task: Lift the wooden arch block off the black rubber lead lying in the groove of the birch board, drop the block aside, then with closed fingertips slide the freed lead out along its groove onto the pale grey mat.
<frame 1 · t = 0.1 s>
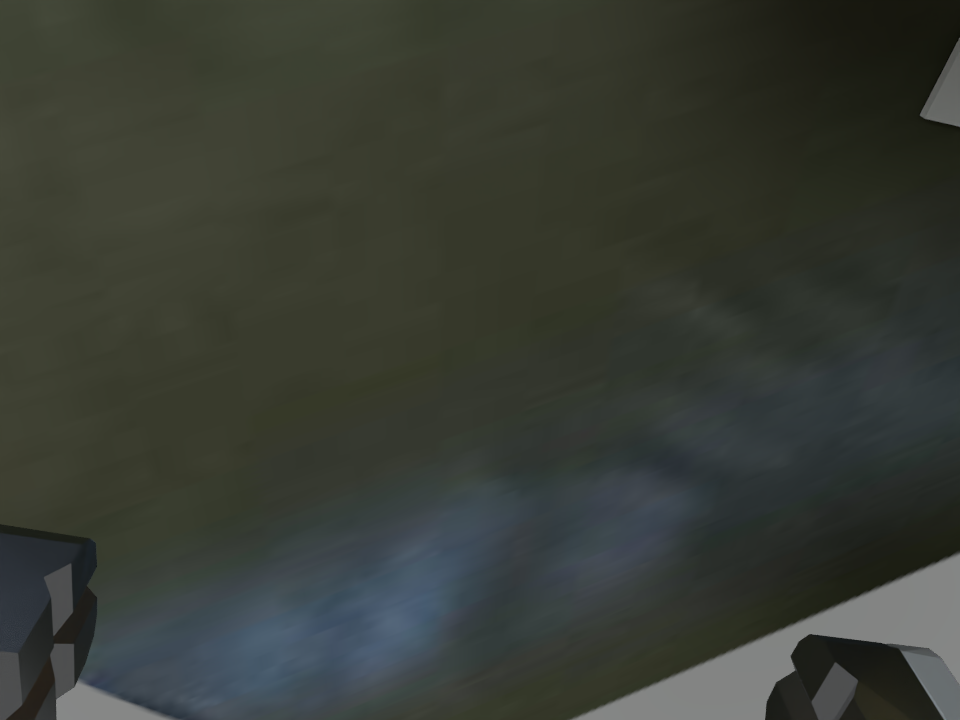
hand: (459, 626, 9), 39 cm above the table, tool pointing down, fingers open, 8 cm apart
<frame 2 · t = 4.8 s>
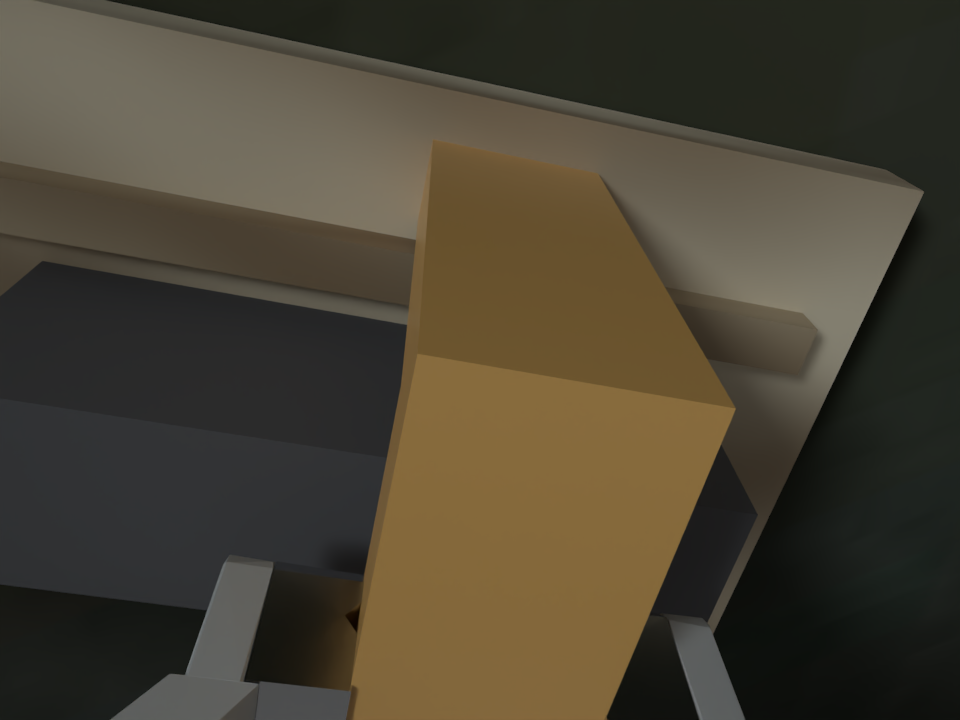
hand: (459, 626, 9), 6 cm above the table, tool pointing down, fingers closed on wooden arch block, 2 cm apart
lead: (366, 396, 13), point 1 cm above the table, touching board
board: (372, 361, 14), on the table
wooden arch block: (456, 410, 14), point 1 cm above the table, touching board, gripper
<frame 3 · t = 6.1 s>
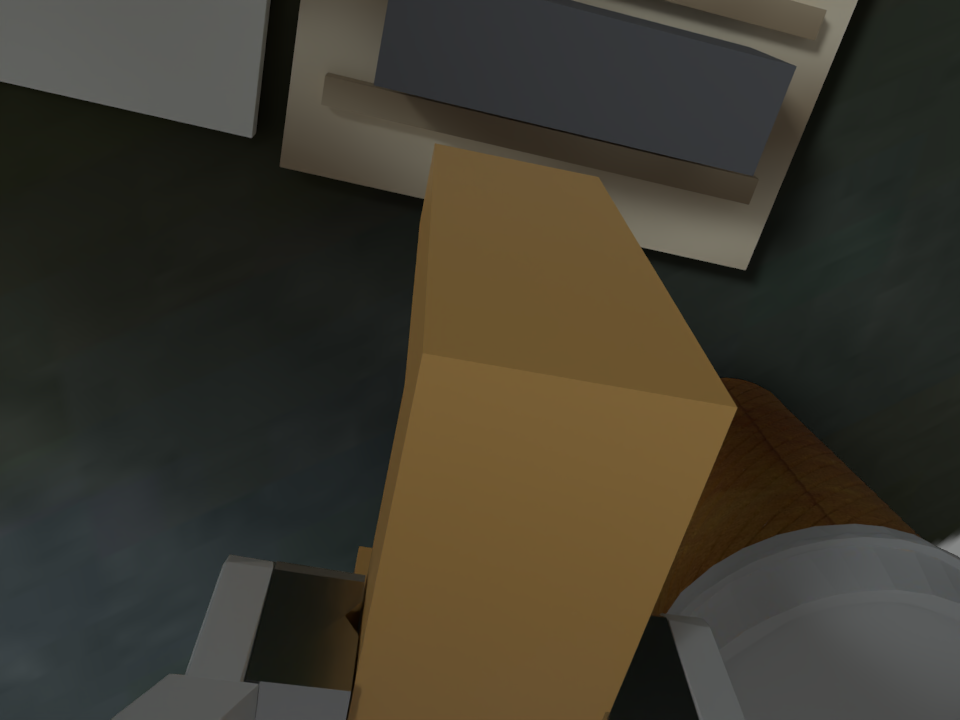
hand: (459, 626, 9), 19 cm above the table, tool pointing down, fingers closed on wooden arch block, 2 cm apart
disposable coffee cup: (708, 445, 31), on the table
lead: (567, 55, 23), point 1 cm above the table, touching board
board: (562, 49, 24), on the table
wooden arch block: (457, 413, 14), point 14 cm above the table, touching gripper
when the fingers open (6 cm above the table, at t = 7.9 s): wooden arch block drops 1 cm, on the table.
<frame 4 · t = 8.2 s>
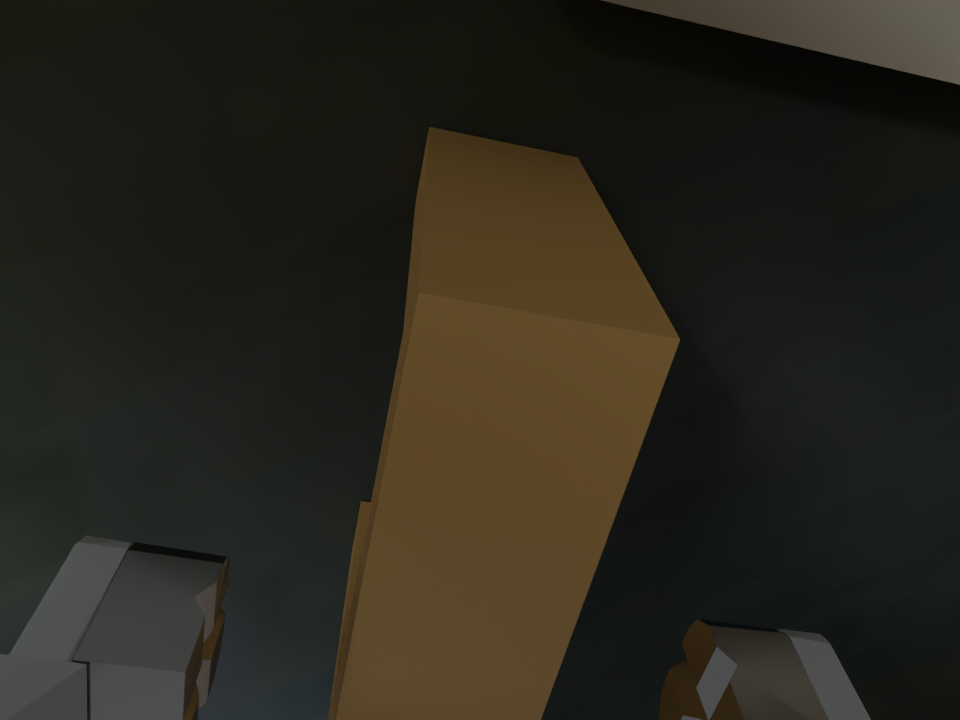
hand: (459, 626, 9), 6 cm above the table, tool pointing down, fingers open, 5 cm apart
wooden arch block: (451, 376, 15), on the table
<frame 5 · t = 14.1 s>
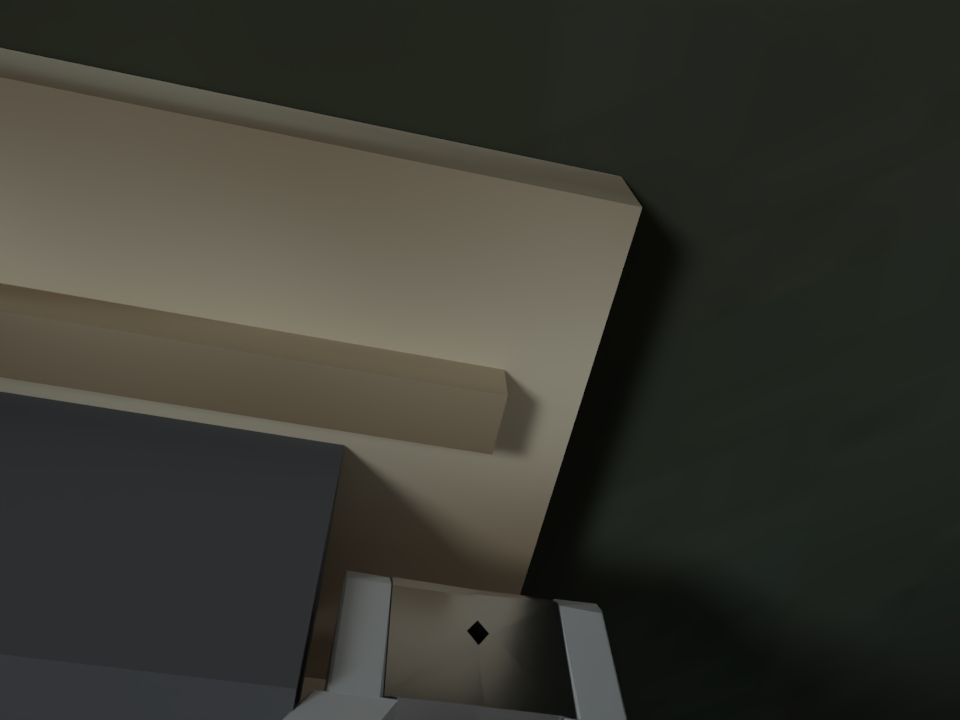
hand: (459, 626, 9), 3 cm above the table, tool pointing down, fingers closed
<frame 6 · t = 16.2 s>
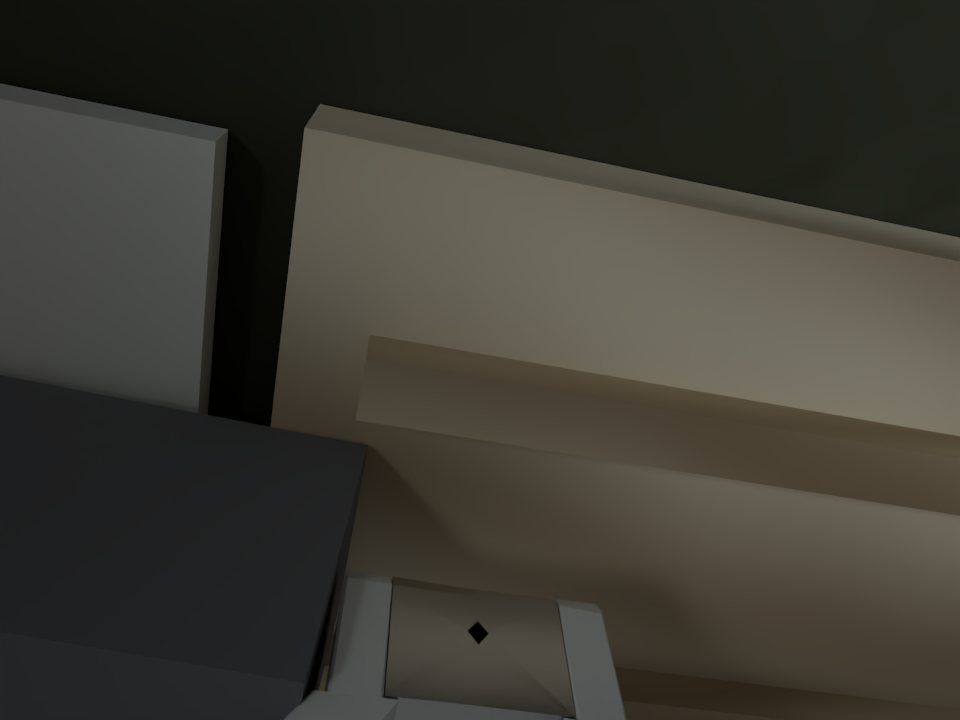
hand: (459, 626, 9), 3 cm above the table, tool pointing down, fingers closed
board: (766, 530, 13), on the table
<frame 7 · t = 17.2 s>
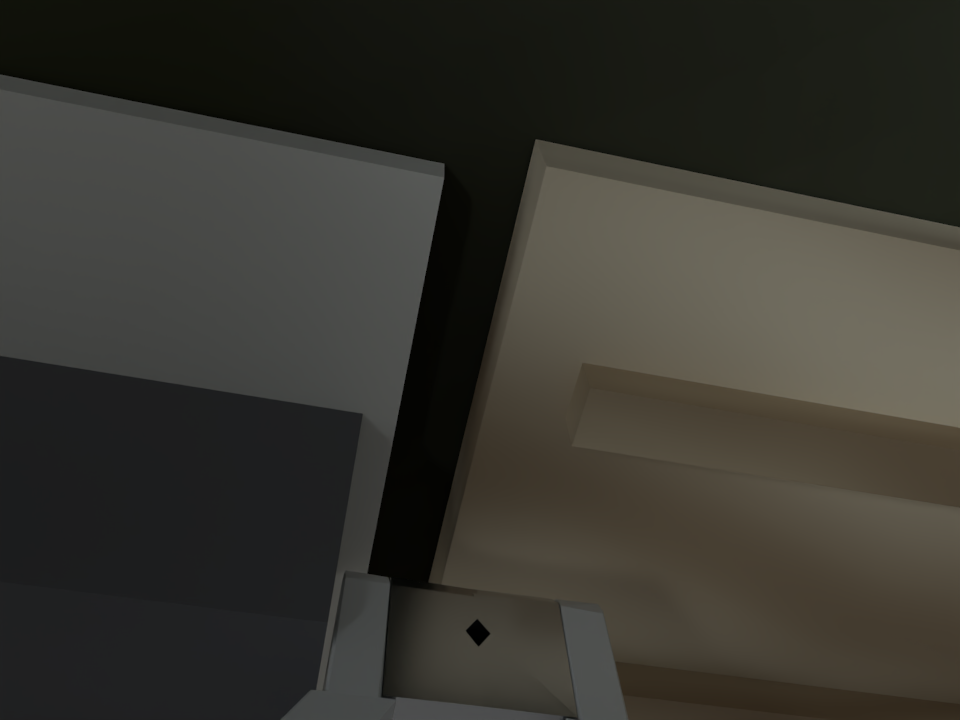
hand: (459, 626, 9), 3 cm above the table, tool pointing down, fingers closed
mat: (21, 412, 11), on the table
board: (919, 547, 13), on the table
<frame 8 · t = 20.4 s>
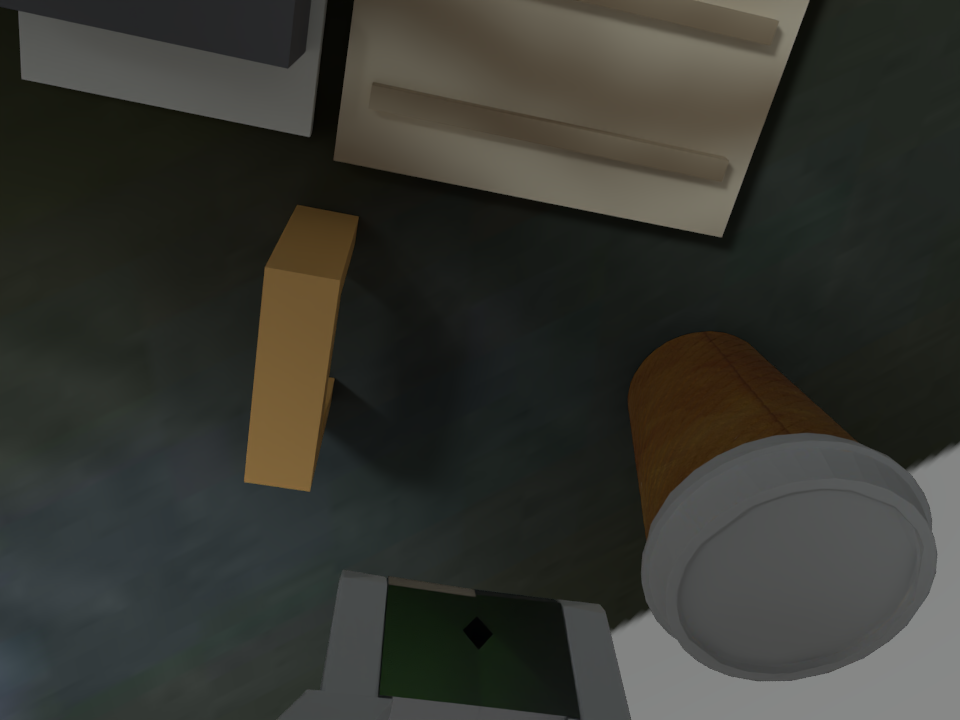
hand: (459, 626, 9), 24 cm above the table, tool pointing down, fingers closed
disposable coffee cup: (696, 391, 37), on the table
board: (563, 57, 29), on the table
wooden arch block: (315, 309, 34), on the table
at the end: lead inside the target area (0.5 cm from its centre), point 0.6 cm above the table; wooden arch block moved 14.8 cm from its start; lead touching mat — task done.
